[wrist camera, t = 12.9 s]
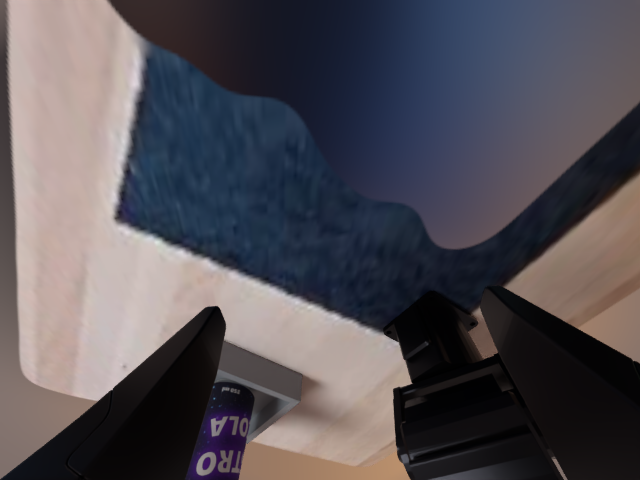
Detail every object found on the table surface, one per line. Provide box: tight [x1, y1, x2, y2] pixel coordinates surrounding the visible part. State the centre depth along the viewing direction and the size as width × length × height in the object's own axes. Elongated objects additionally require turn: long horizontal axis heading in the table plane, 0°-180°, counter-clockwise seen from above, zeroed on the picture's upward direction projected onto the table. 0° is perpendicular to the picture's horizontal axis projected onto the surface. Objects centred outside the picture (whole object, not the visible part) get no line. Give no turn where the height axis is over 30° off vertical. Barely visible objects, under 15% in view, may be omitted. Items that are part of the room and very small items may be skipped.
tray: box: [215, 341, 302, 444], centre depth 31 cm, size 12×12×3 cm
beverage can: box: [185, 378, 255, 480], centre depth 26 cm, size 6×6×12 cm
